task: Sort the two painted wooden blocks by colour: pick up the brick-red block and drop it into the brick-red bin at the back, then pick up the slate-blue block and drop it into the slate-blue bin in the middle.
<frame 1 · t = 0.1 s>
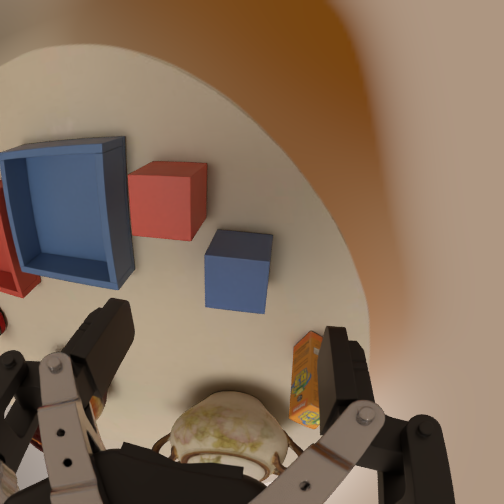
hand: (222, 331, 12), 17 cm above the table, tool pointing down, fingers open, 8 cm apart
vase: (84, 370, 42), on the table
red block: (179, 189, 27), on the table
blue bin: (73, 204, 29), on the table
sugar bowl: (235, 407, 41), on the table
supplement box: (311, 343, 34), on the table
blue block: (243, 256, 30), on the table
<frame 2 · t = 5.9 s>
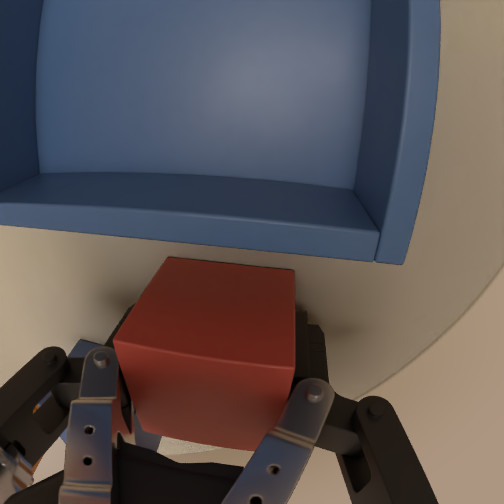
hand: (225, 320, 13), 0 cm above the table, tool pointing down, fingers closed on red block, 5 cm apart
red block: (227, 314, 13), on the table, touching gripper
blue bin: (183, 5, 8), on the table
blue block: (125, 378, 16), on the table
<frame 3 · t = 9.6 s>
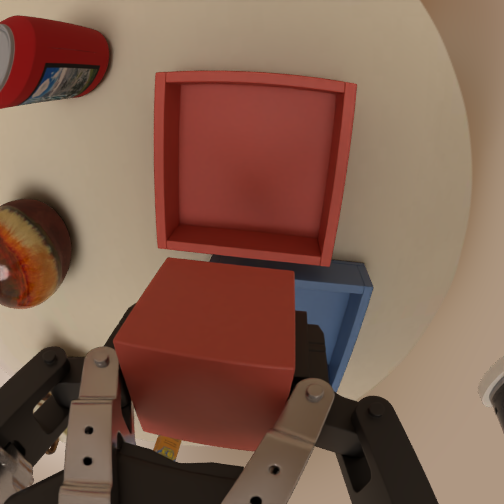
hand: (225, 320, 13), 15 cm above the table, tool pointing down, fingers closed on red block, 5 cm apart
vase: (46, 234, 31), on the table
red block: (227, 314, 13), point 15 cm above the table, touching gripper
blue bin: (282, 315, 32), on the table
supplement box: (173, 425, 44), on the table
beverage can: (84, 63, 22), on the table
red bin: (252, 159, 25), on the table
when the fingers open (1 cm above the table, at t = 13.6 s): red block stays where it is, resting on red bin.
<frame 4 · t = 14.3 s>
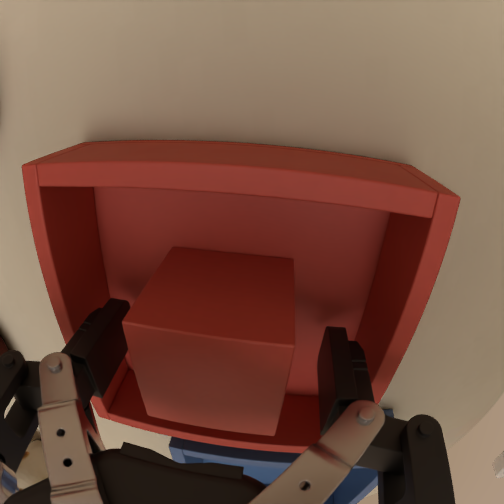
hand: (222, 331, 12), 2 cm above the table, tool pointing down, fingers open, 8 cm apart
red block: (230, 302, 14), point 1 cm above the table, touching red bin
blue bin: (278, 453, 21), on the table
sugar bowl: (61, 456, 31), on the table
red bin: (231, 295, 14), on the table
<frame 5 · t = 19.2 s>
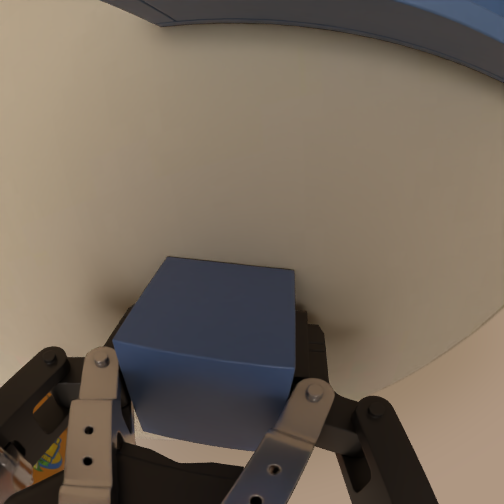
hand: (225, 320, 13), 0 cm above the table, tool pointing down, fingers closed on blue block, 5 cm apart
supplement box: (81, 380, 18), on the table
blue block: (227, 314, 13), on the table, touching gripper
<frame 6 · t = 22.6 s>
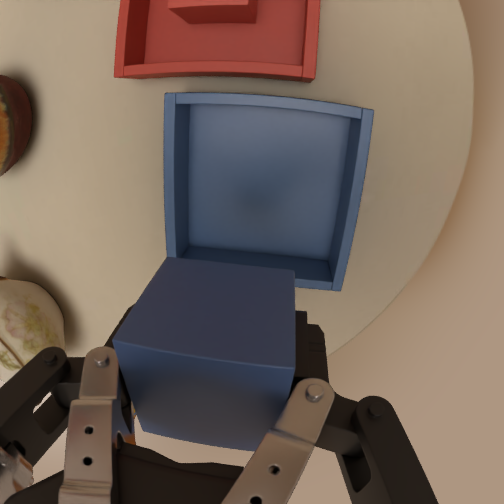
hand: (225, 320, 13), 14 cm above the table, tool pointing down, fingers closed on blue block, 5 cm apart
vase: (11, 121, 24), on the table
blue bin: (264, 181, 25), on the table
sugar bowl: (40, 307, 35), on the table
blue block: (227, 314, 13), point 14 cm above the table, touching gripper
when the fingers open (1 cm above the table, at t = 26.2 s): blue block stays where it is, resting on blue bin.
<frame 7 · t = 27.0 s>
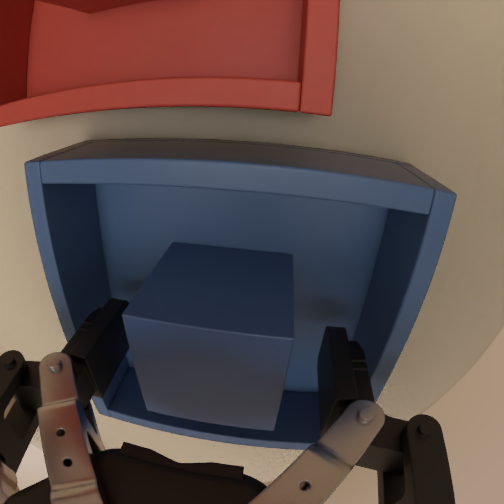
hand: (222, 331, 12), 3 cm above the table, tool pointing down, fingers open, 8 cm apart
blue bin: (231, 292, 15), on the table
blue block: (229, 298, 14), point 1 cm above the table, touching blue bin
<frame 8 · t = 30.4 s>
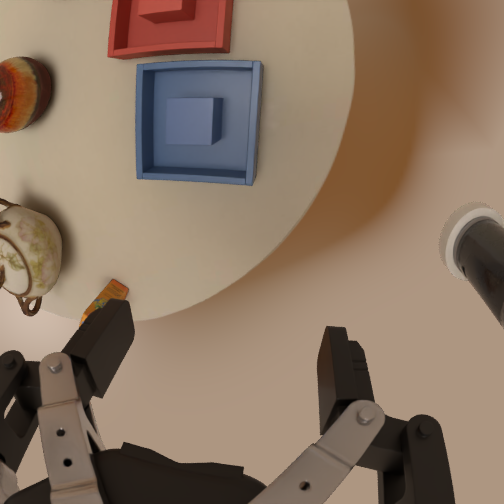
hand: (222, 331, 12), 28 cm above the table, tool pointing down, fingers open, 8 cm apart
vase: (34, 91, 34), on the table
red block: (175, 3, 28), point 1 cm above the table, touching red bin
blue bin: (202, 118, 35), on the table
sugar bowl: (45, 236, 45), on the table
supplement box: (118, 288, 48), on the table
blue block: (201, 118, 34), point 1 cm above the table, touching blue bin
red bin: (177, 5, 28), on the table
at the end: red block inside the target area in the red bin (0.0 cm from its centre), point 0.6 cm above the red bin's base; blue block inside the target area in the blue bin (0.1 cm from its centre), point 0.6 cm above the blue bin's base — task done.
